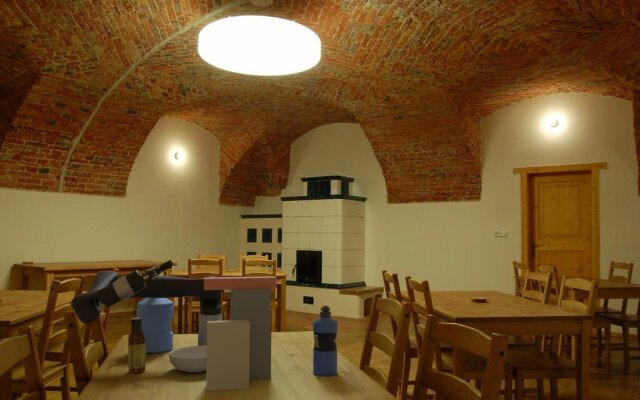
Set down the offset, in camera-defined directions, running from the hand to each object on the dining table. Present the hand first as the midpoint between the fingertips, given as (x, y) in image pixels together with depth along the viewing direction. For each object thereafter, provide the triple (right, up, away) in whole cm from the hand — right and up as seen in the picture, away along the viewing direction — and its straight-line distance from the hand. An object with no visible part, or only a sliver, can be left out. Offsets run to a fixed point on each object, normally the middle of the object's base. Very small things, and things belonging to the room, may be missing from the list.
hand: (171, 262), depth 196 cm
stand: (+25, -41, -5) cm, 49 cm away
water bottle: (+56, -42, +6) cm, 70 cm away
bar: (+25, -10, +2) cm, 26 cm away
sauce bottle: (-15, -42, +8) cm, 45 cm away
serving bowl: (+7, -42, +11) cm, 44 cm away
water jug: (-19, -44, +43) cm, 65 cm away
